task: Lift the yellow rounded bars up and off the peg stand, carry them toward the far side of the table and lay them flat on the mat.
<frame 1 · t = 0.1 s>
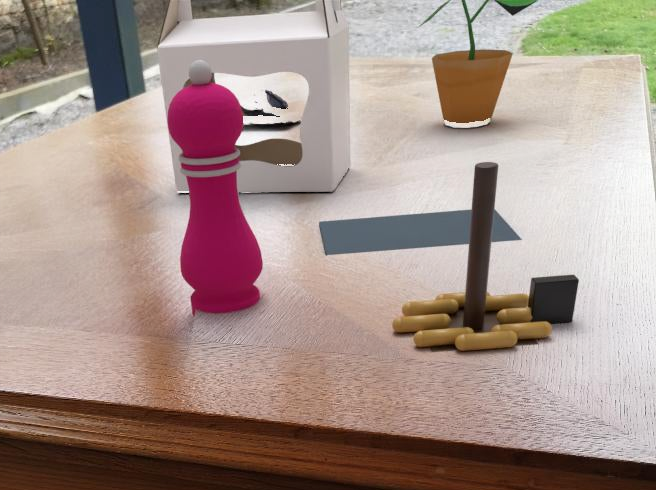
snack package: (269, 126, 141), on the table
pepper mill: (227, 313, 71), on the table
potted plant: (467, 125, 130), on the table
mat: (419, 243, 82), on the table
peg stand: (471, 340, 62), on the table
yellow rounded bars: (473, 326, 62), point 1 cm above the table, touching peg stand
gable box: (265, 182, 109), on the table
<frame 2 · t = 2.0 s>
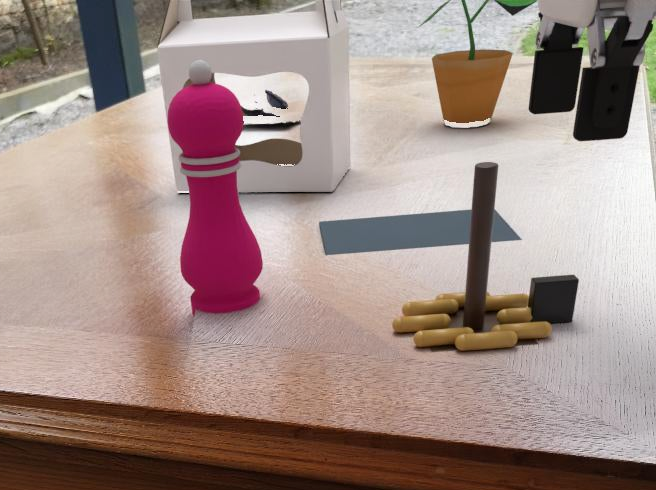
hand: (573, 124, 53), 15 cm above the table, tool pointing down, fingers open, 9 cm apart
nothing on the table moved.
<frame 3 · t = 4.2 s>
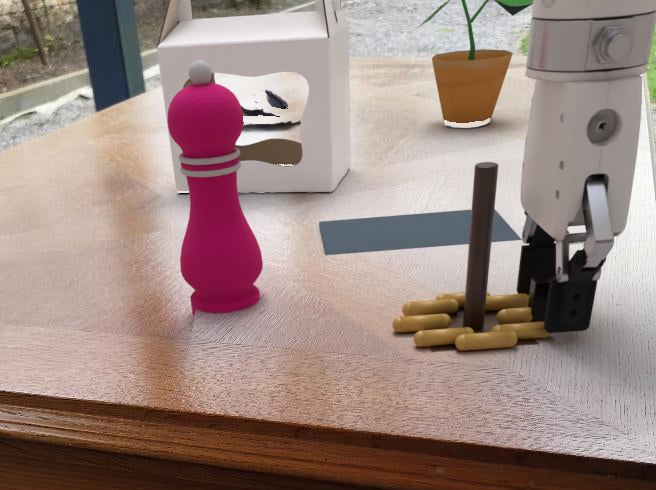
hand: (550, 309, 61), 2 cm above the table, tool pointing down, fingers closed on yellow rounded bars, 6 cm apart
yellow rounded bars: (473, 326, 62), point 1 cm above the table, touching gripper, peg stand
everything else where it was.
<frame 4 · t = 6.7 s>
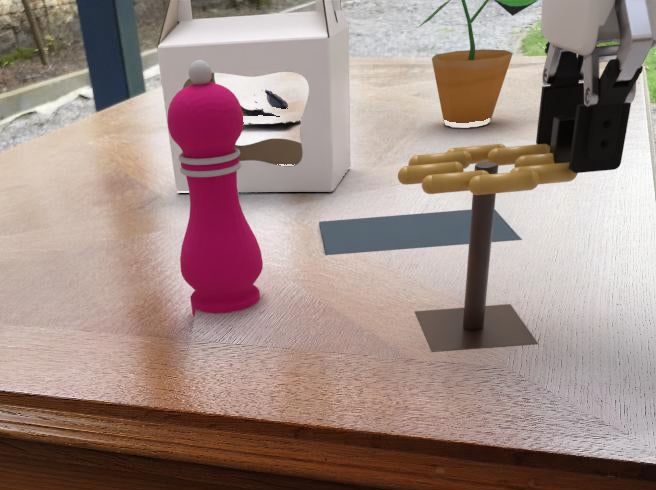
hand: (575, 155, 54), 13 cm above the table, tool pointing down, fingers closed on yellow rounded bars, 6 cm apart
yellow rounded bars: (488, 177, 55), point 12 cm above the table, touching gripper
everything else where it was.
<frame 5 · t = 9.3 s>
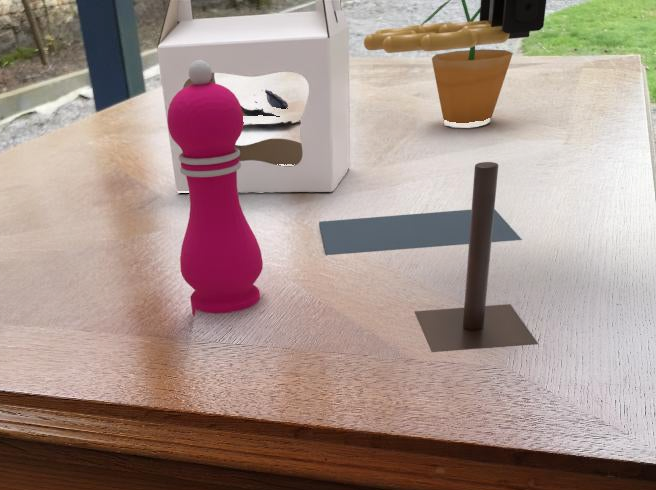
hand: (509, 25, 66), 20 cm above the table, tool pointing down, fingers closed on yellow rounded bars, 6 cm apart
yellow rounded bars: (438, 44, 67), point 19 cm above the table, touching gripper
everything else where it was.
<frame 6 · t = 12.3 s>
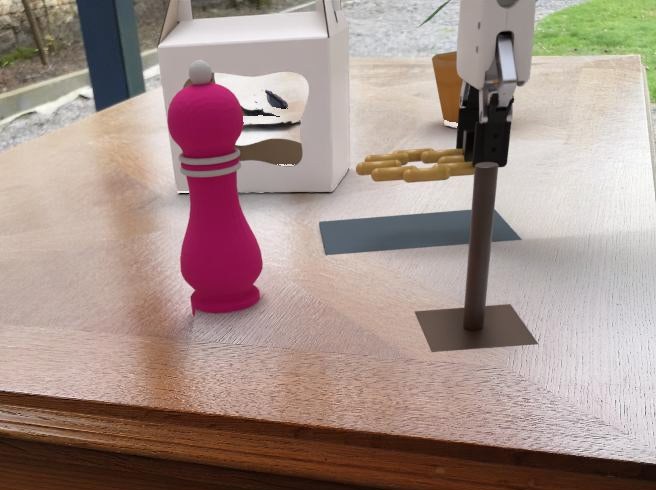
hand: (480, 156, 78), 8 cm above the table, tool pointing down, fingers closed on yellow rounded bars, 6 cm apart
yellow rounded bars: (419, 171, 78), point 7 cm above the table, touching gripper
everything else where it was.
when the fingers open (1 cm above the table, at t = 14.4 s): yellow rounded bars stays where it is, resting on mat.
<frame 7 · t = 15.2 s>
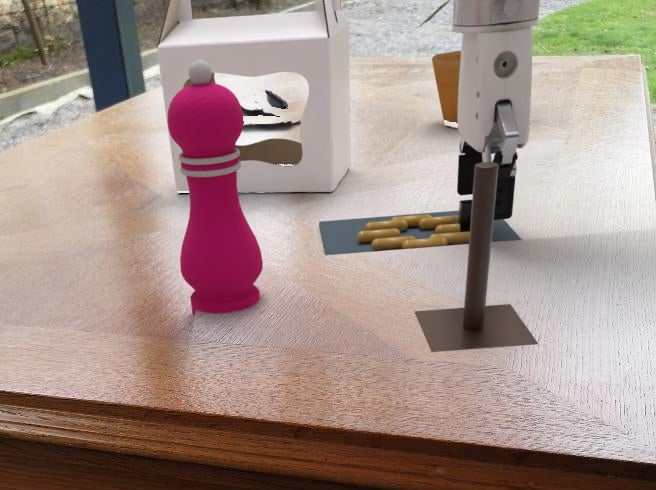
hand: (482, 205, 80), 3 cm above the table, tool pointing down, fingers open, 9 cm apart
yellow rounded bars: (417, 238, 82), resting on mat
everything else where it was.
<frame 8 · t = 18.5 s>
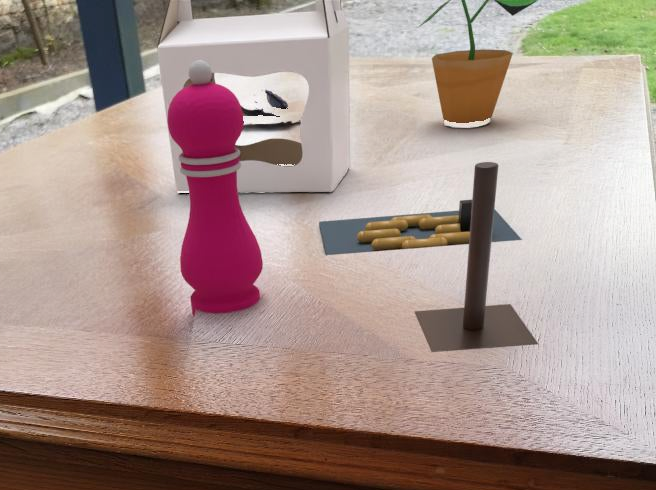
nothing on the table moved.
at the end: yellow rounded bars inside the target area on the mat (0.2 cm from its centre), point 0.5 cm above the mat's base; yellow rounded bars tilted 0°; the gripper is holding nothing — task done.
